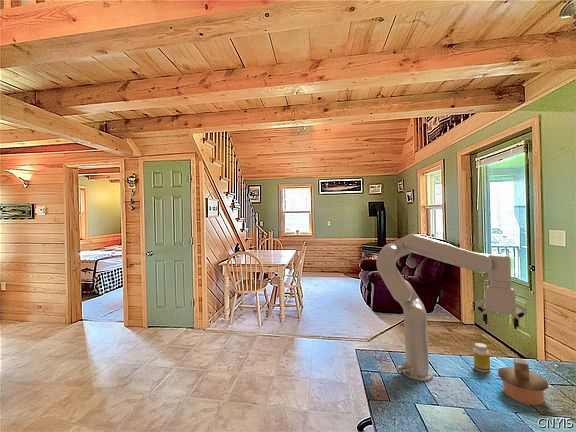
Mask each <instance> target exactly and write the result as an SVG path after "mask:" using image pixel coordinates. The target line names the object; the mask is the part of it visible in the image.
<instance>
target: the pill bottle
mask: <svg viewBox="0 0 576 432" xmlns="http://www.w3.org/2000/svg"><path fill="white" fill-rule="evenodd" d="M472 353H473V355H472V356H473V367H474V369H475V370H477V372H478V371H479V372H482V373H489V372H490V371H491V359H490V351H489V350H488V346H487V344H486V343H481V342H477V343H474V348H473V350H472Z"/></svg>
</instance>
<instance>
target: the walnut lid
mask: <svg viewBox="0 0 576 432" xmlns="http://www.w3.org/2000/svg"><path fill="white" fill-rule="evenodd" d="M513 365H514V366H512V367H511V366H503V367H500V368H499V369H498V370H497V374H498V377H499V378H500V379H501V380H502V381H503V380H504V381H505V382H507V383H509V384H511V385H514V386H517V387H520V388H523V389H528V390H535V391H542V390H544V391H545V390H547V389H548V388H549V383H548V382H549V381H547V379H545V377H543V376H541V375H539V374H537V373H535V372H533V371H530V365H529V362H528V360H526V359H521V358H517V357H516V358H515V357H514V358H513Z"/></svg>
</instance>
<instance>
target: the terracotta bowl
mask: <svg viewBox="0 0 576 432" xmlns="http://www.w3.org/2000/svg"><path fill="white" fill-rule="evenodd" d="M502 390H503V392H504V394H505V395H506V396H508V397H510V398H511V399H512V400H514V401H517V402H520V403H521V404H522V403H523V404H525V405H532V406H539V405H544V404H545V390H542V391H535V390H528V389H523V388H520V387H517V386H514V385H511V384H509V383H507V382H505V381H504V380H502Z"/></svg>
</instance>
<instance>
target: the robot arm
mask: <svg viewBox="0 0 576 432" xmlns="http://www.w3.org/2000/svg"><path fill="white" fill-rule="evenodd" d="M411 253H413V254H416V255H419V256H423V257H426V258H430V259H433V260H435V261H439V262H442V263H445V264H449V265H453V266H455V267H458V268H462V269H465V270H468V271H471V272H475V273H478V274H486V273H488V279H484V280H483V281H484V284H487V286H486V287H485V294H484V299H480V300H477V301H475V302H474V304H475V306H476V307H477V309H478V311H479V312H481V313H482V321H483V322H484V324H485V325H488V313H489V312H491V313H497V314H498V313H499V314H505V315H506V314H507V315H512V316H513V328H514V329H515V330H518V328H519V327H520V323H519V321H520V319H521V318H523V317H524V316H525V314H526V313H527V312H528V309H527V307H524V306H523V305H520V304H519V303H517V301H516V294H515V289H514V288H513V287H512V272H511V271H512V268H511V267H512V264H511V263H512V262H511V257H510V256H509V255H508V254H503V253H502V254H501V253H491V254H489V253H480V252H475V251H469V250H466V249H464V248H460V247H458V246H454V245H452V244H450V243H447V242H444V241H440V240H437V239H434V238H430V237H426V236H423V235H419V234H417V233H409V234H407V235H405V236H403V237H400V238H399V239H398V238H397V239H396V240H394V241H392V242H389V243H387V244H385V245H384V246H383V247H382V248H381V250H380V251H379V253H378V255H377V257H376V269H377V272H378V274H379V276H380V277H381V279H382V281H383V282H384V284H385V286H386V287H387V289H388V291H389V293H390V294H391V296H392V297H393V299H394V301H396V302H398V304H399V305H400V306H401V308H402V310H403V324H404V325H403V327H404V352H405V361H403V364H402V365H397V366H396V367H395V368H396V369H395V370H396V371H397V372H400V371H402V373H403V375H405V376H406V377H408V378H409V379H411V380H414V381H419V382H420V381H421V382H428V381H431V380H433V378H434V373H433V371H432V370H431V369H430V365H429V363H430V362H429V340H428V314H427V310H426V308H425V305H424V303H423V301H422V300H421V298H420V297H419V295H418V294H417V293H416V290H415V289H414V288H413V286H412V284H411V283H410V282H409V281H407V280H406V279H405V278H404V277H403V276H402V274H401V272H400V271H399V268H398V267H397V261H398V260H399V259H400V258H402V257H404V256H407V255H409V254H411ZM483 304H484V307H485V308H483V306H481V305H483ZM517 308H518V309H520V310H521V311H520V312H518V313H517Z"/></svg>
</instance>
